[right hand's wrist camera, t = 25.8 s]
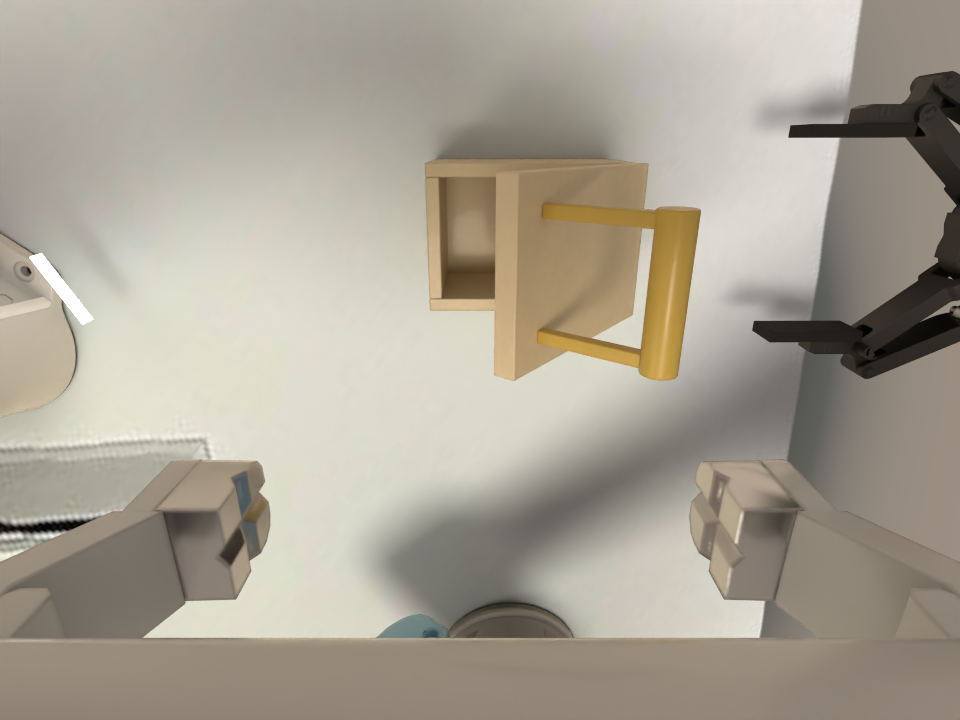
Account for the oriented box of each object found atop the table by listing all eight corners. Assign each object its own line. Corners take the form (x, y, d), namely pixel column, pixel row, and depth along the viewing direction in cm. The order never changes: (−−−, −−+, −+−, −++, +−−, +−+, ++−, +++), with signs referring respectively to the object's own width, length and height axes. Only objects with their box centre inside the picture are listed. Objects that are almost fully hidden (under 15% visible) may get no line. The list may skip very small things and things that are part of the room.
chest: (438, 280, 47) (429, 310, 39) (435, 159, 44) (424, 162, 35) (596, 280, 47) (622, 310, 39) (606, 158, 44) (636, 162, 35)
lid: (493, 375, 28) (652, 423, 23) (495, 171, 24) (684, 179, 20) (616, 311, 38) (743, 335, 34) (630, 163, 35) (774, 166, 30)
